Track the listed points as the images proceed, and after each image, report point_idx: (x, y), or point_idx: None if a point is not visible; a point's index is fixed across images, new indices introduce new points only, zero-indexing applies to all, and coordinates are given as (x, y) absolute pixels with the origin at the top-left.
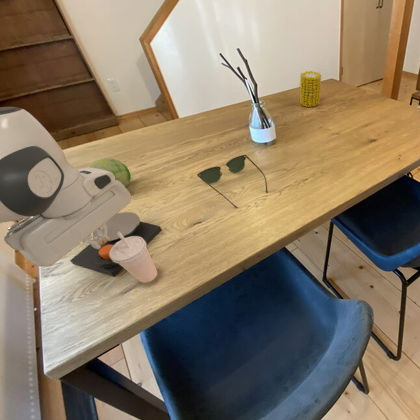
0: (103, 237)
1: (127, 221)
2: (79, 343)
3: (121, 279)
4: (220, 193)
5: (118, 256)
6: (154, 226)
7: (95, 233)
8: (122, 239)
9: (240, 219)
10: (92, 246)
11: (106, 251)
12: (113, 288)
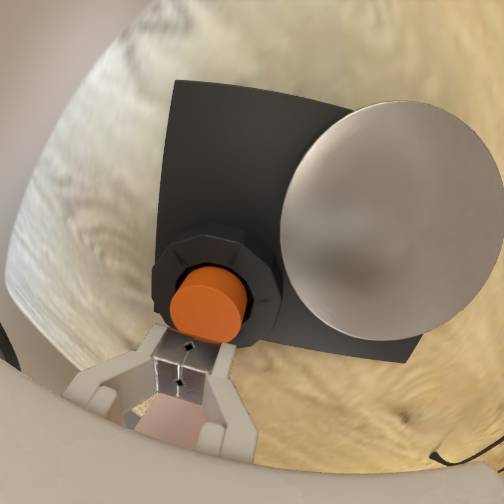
0: (195, 403)
1: (436, 280)
2: (31, 309)
3: (162, 324)
4: (466, 462)
5: None
6: (407, 348)
7: (343, 138)
8: None
9: (389, 468)
10: (151, 329)
11: (193, 324)
12: (130, 316)
